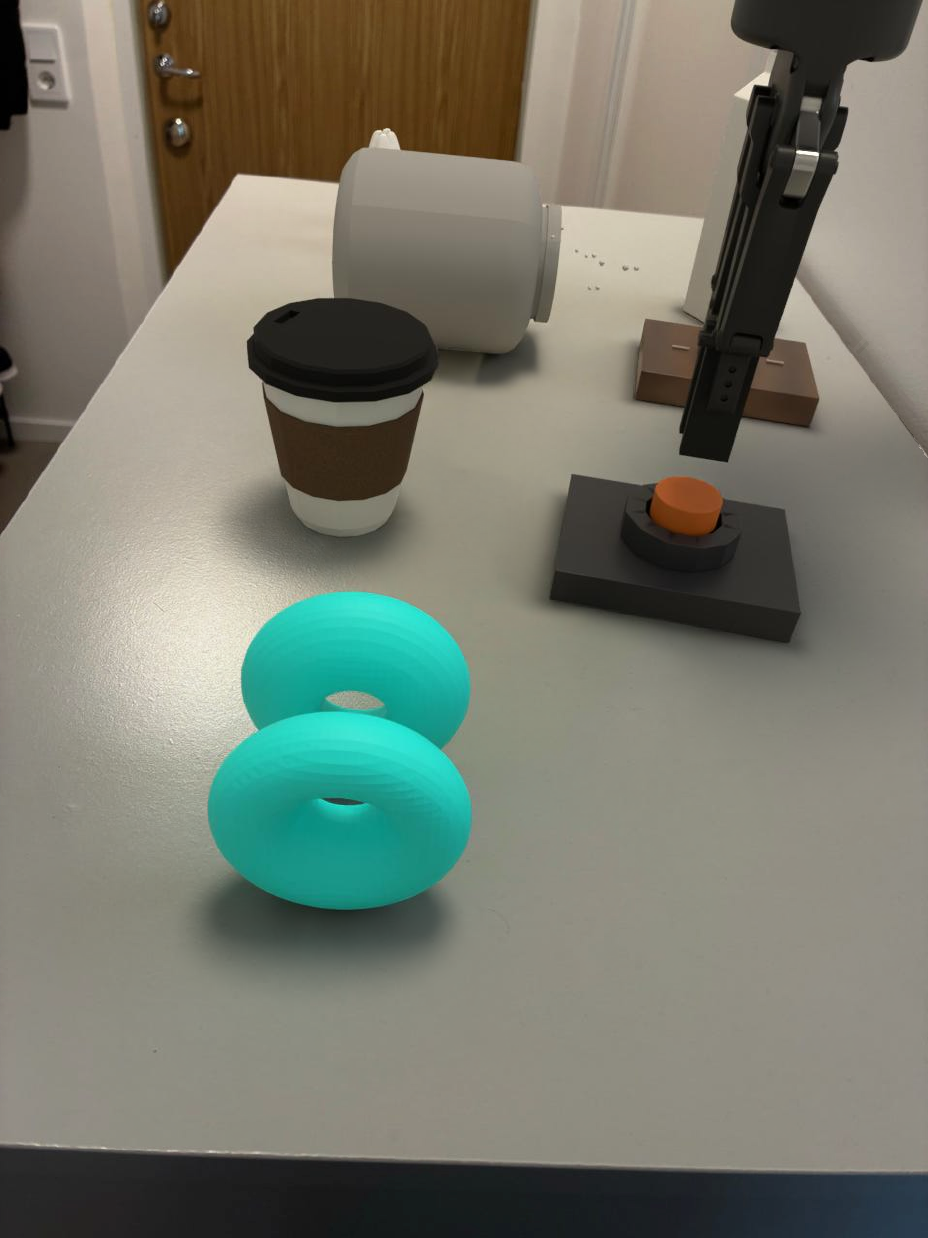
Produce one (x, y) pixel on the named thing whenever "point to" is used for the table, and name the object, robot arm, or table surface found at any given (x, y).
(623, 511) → the grey button base
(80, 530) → the table surface
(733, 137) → the milk
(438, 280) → the jar
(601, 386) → the table surface
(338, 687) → the donuts
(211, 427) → the table surface
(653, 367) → the dial panel
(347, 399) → the coffee cup
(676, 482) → the power button
